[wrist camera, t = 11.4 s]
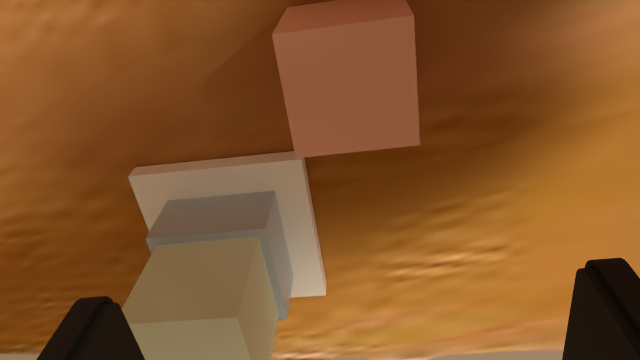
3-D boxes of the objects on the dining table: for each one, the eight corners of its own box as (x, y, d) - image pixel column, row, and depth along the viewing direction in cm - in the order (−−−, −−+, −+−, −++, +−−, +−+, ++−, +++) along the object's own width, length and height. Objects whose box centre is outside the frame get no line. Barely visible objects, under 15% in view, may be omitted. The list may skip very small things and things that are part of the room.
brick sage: (156, 245, 28) (112, 325, 23) (258, 236, 27) (237, 317, 22) (185, 320, 31) (152, 406, 25) (278, 313, 30) (264, 401, 25)
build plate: (134, 167, 31) (99, 212, 27) (303, 149, 30) (295, 194, 25) (182, 293, 37) (159, 348, 32) (326, 283, 35) (323, 339, 31)
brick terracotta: (287, 6, 26) (271, 34, 21) (400, -10, 25) (414, 15, 20) (305, 111, 29) (295, 158, 24) (407, 99, 28) (420, 145, 23)
